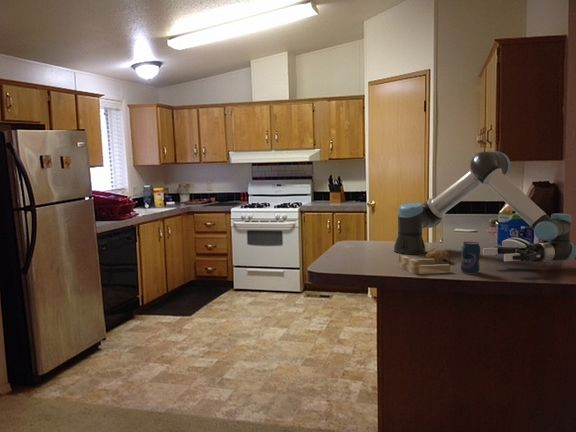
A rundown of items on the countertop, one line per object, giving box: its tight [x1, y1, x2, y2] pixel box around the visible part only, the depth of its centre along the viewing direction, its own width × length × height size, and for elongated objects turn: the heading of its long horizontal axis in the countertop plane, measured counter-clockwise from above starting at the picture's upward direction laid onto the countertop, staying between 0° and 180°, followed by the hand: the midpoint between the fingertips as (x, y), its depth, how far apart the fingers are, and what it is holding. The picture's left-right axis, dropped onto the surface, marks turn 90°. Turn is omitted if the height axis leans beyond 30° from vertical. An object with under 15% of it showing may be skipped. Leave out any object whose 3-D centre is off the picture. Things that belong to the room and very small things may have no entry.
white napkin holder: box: [501, 237, 531, 248], centre depth 231 cm, size 17×5×10 cm, turn 18°
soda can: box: [460, 241, 481, 275], centre depth 198 cm, size 7×7×12 cm
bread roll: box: [425, 247, 451, 265], centre depth 220 cm, size 10×10×8 cm
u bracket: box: [398, 254, 451, 275], centre depth 204 cm, size 14×16×5 cm
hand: (493, 254), depth 200 cm, fingers open, 13 cm apart
